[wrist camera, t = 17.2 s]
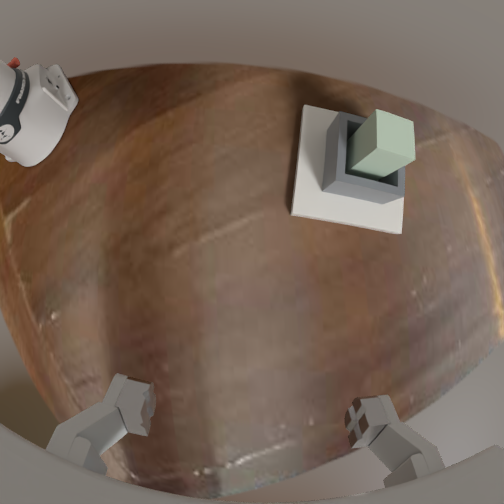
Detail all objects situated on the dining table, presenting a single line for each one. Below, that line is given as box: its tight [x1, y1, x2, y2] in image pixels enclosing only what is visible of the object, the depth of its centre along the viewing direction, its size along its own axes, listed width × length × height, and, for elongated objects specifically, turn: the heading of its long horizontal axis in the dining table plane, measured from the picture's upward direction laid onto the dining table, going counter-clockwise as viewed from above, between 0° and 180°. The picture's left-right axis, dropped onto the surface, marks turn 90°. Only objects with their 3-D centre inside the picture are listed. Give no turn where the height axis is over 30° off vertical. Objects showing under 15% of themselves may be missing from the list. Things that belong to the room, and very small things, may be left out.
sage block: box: [345, 109, 415, 181], centre depth 29 cm, size 4×4×12 cm
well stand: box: [290, 105, 405, 234], centre depth 33 cm, size 16×16×8 cm
